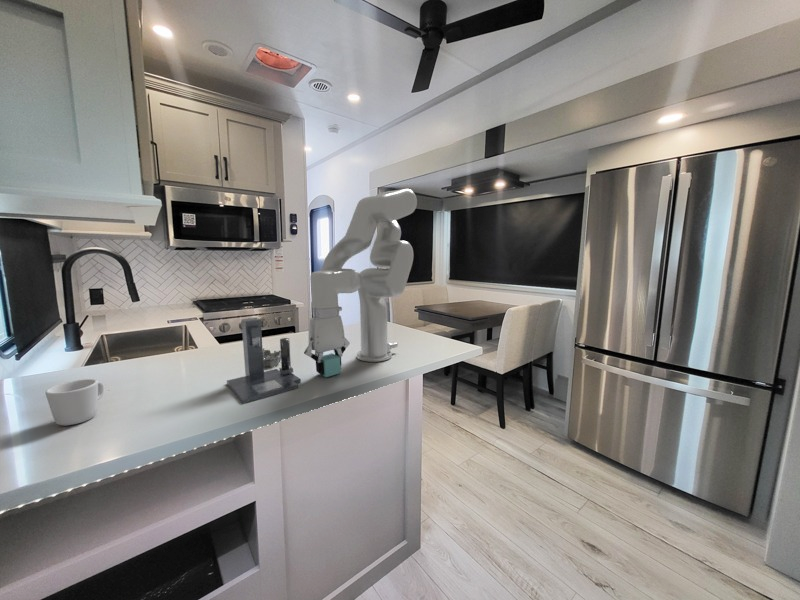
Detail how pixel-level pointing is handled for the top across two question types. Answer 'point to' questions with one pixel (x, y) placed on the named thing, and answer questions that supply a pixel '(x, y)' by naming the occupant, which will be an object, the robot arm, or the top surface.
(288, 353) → the lever
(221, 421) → the top surface
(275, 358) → the egg carton
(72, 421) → the cup
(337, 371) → the teal cube block
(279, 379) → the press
